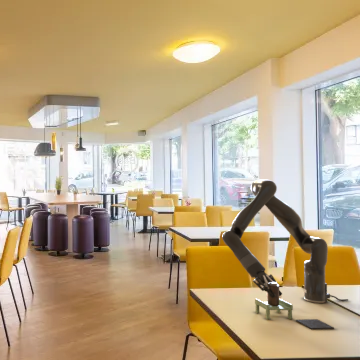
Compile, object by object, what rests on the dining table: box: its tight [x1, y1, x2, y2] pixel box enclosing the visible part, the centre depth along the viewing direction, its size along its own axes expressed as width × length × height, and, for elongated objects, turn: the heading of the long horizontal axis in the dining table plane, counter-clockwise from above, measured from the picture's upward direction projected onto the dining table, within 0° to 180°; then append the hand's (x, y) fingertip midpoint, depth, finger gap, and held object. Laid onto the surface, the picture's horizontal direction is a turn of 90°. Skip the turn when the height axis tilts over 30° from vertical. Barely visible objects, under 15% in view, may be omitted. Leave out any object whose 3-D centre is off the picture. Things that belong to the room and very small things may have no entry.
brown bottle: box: [266, 281, 280, 306], centre depth 180 cm, size 5×5×10 cm
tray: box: [254, 298, 294, 320], centre depth 180 cm, size 12×10×7 cm
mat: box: [295, 318, 335, 330], centre depth 169 cm, size 10×10×1 cm
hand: (277, 296), depth 179 cm, fingers closed on brown bottle, 5 cm apart
